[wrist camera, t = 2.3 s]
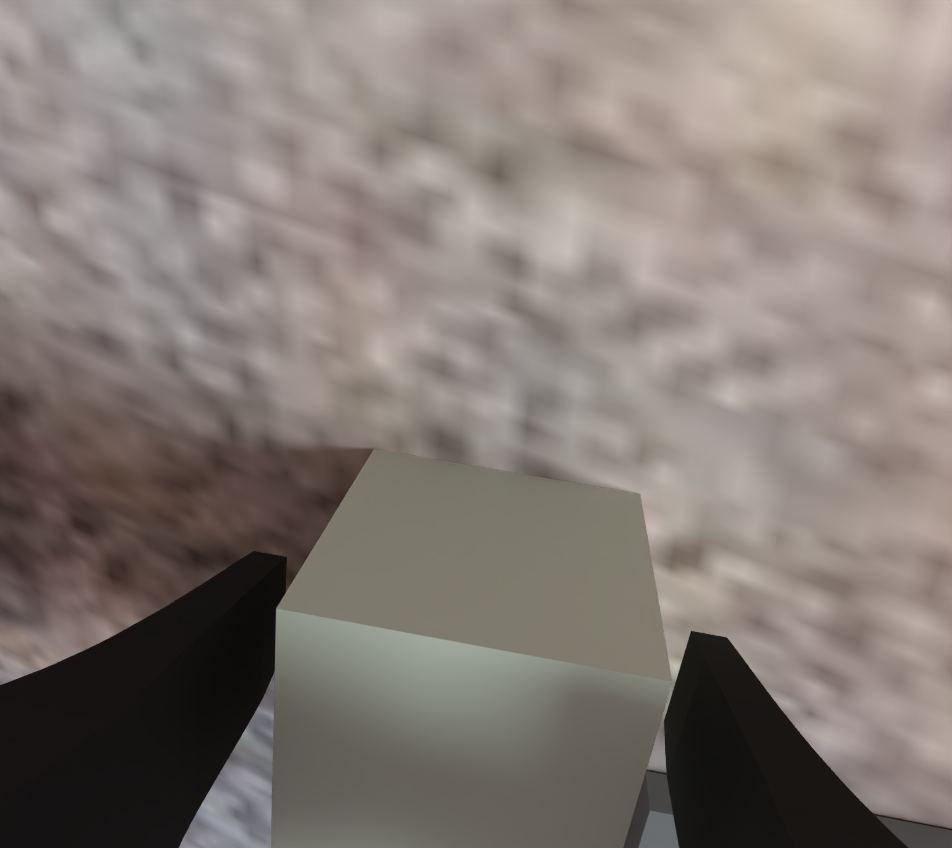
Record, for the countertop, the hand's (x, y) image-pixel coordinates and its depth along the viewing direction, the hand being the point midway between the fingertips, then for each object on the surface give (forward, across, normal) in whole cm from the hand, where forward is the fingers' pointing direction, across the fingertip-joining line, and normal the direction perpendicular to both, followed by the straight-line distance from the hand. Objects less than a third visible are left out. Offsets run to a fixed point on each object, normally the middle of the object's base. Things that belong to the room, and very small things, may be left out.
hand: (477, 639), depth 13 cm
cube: (+2, 0, 0) cm, 2 cm away
